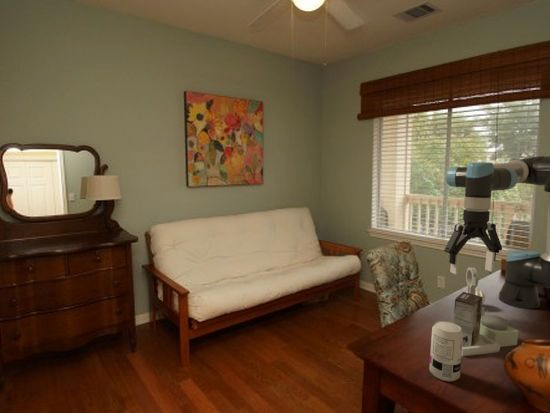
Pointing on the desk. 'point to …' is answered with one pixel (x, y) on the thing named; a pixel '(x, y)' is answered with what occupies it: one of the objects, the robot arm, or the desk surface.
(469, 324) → the coffee box
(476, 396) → the desk surface
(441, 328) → the supplement can
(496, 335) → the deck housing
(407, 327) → the desk surface
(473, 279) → the engine component
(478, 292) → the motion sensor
